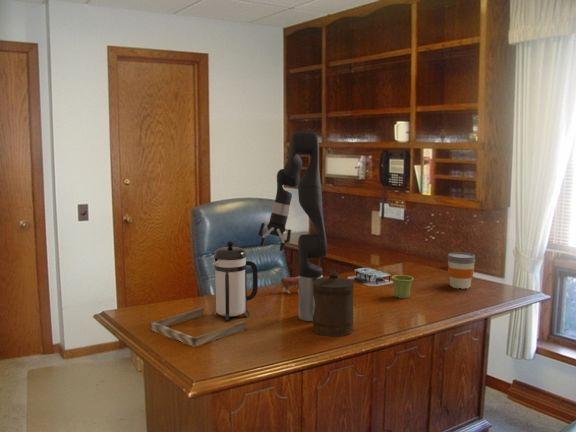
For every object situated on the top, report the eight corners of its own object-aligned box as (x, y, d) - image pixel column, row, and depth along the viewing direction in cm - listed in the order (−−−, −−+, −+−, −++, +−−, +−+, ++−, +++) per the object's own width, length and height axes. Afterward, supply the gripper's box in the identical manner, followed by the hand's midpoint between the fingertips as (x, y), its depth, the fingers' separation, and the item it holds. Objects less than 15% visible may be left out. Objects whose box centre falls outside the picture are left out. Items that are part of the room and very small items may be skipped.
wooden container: (328, 320, 223) (328, 265, 220) (360, 329, 214) (362, 271, 211) (304, 330, 212) (305, 272, 209) (338, 340, 202) (339, 279, 199)
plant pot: (411, 294, 260) (412, 275, 259) (414, 300, 251) (414, 280, 249) (390, 293, 261) (391, 274, 260) (392, 299, 252) (392, 280, 250)
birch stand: (246, 329, 213) (245, 321, 212) (194, 347, 195) (193, 339, 195) (201, 315, 230) (201, 307, 229) (150, 330, 212) (150, 322, 212)
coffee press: (246, 323, 220) (246, 246, 215) (206, 320, 223) (205, 244, 219) (258, 309, 237) (257, 237, 232) (220, 307, 240) (219, 236, 235)
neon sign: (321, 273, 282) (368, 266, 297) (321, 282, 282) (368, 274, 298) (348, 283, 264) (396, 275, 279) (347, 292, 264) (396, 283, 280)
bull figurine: (310, 294, 260) (310, 276, 258) (280, 293, 260) (280, 276, 259) (310, 291, 264) (310, 274, 263) (281, 291, 264) (281, 273, 263)
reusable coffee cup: (440, 284, 276) (442, 253, 274) (461, 281, 282) (462, 251, 279) (458, 290, 265) (460, 259, 263) (479, 287, 270) (481, 256, 268)
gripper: (263, 209, 258) (254, 245, 258) (293, 217, 256) (285, 252, 256) (266, 210, 265) (258, 244, 265) (296, 217, 263) (287, 252, 263)
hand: (271, 248), depth 261 cm, fingers open, 8 cm apart
